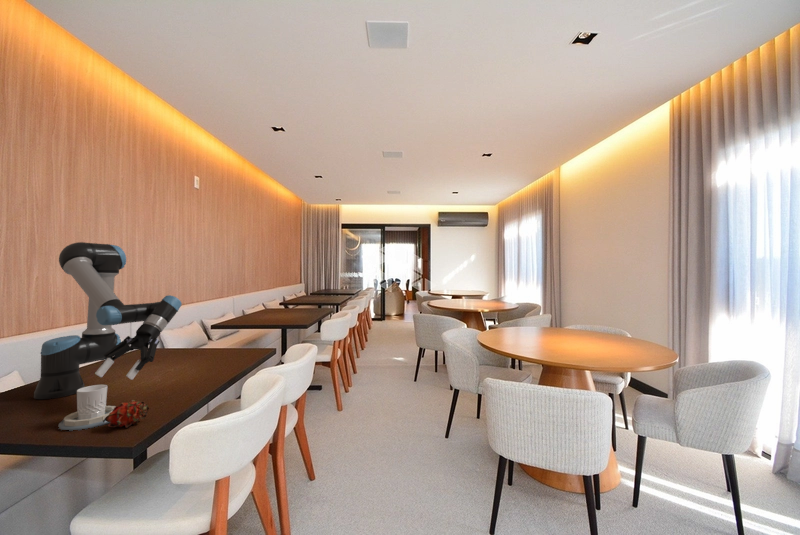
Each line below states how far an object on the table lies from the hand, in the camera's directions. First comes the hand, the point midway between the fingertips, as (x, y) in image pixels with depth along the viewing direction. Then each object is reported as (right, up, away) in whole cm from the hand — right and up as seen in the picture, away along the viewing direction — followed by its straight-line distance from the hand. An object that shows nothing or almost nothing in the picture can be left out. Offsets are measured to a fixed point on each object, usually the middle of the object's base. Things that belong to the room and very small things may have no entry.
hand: (113, 376), depth 123 cm
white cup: (-2, -12, -7) cm, 14 cm away
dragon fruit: (+14, -13, -11) cm, 22 cm away
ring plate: (-2, -13, -7) cm, 15 cm away
